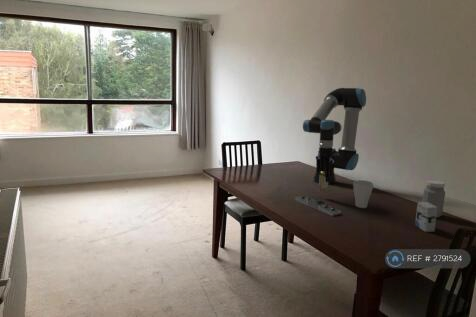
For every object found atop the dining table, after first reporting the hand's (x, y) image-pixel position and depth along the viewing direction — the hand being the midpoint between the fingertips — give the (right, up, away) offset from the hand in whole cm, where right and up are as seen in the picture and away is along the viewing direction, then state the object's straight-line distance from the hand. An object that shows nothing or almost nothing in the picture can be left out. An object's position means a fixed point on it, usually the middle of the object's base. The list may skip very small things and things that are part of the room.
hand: (323, 186), depth 210 cm
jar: (+51, -14, -23) cm, 58 cm away
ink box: (+38, -17, -41) cm, 58 cm away
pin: (0, -2, +1) cm, 2 cm away
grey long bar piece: (-7, -10, -15) cm, 19 cm away
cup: (+18, -10, -12) cm, 24 cm away
